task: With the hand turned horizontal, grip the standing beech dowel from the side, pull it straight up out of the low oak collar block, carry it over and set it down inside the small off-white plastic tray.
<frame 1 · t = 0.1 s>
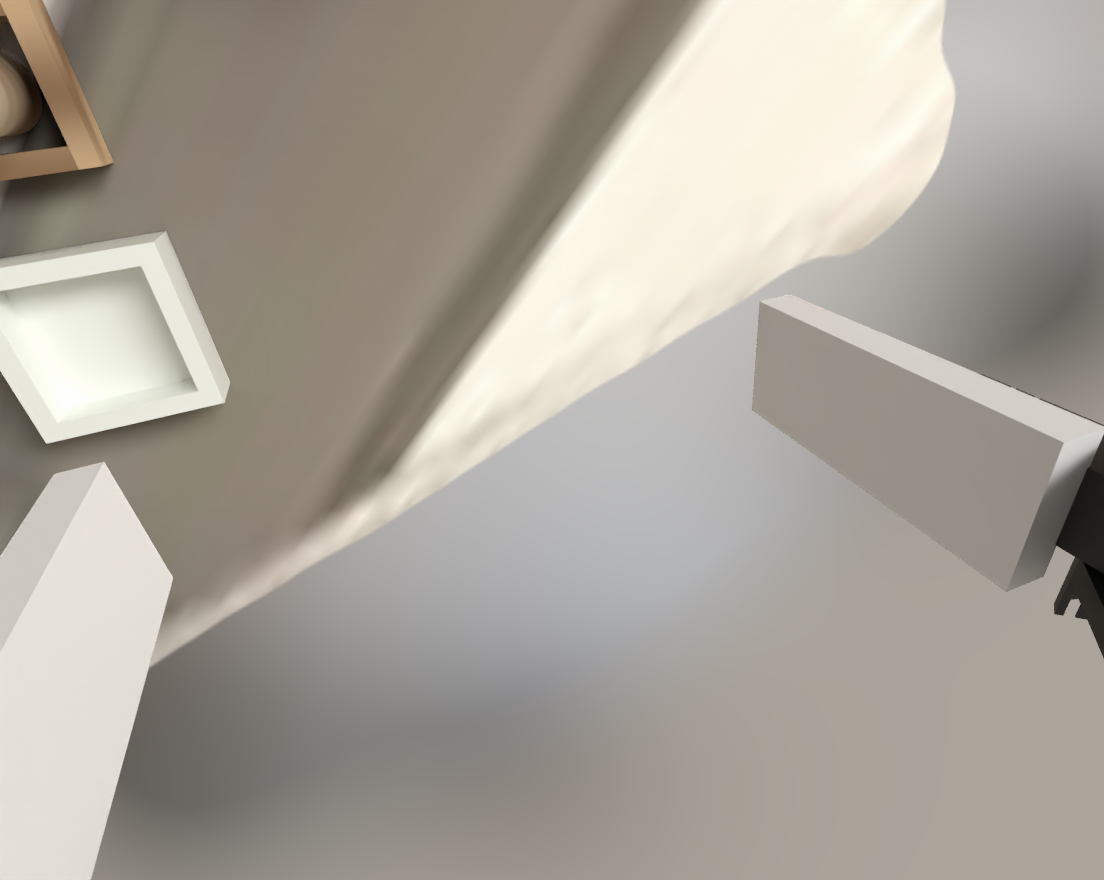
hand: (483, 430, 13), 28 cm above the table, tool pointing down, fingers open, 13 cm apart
tray: (113, 328, 34), on the table
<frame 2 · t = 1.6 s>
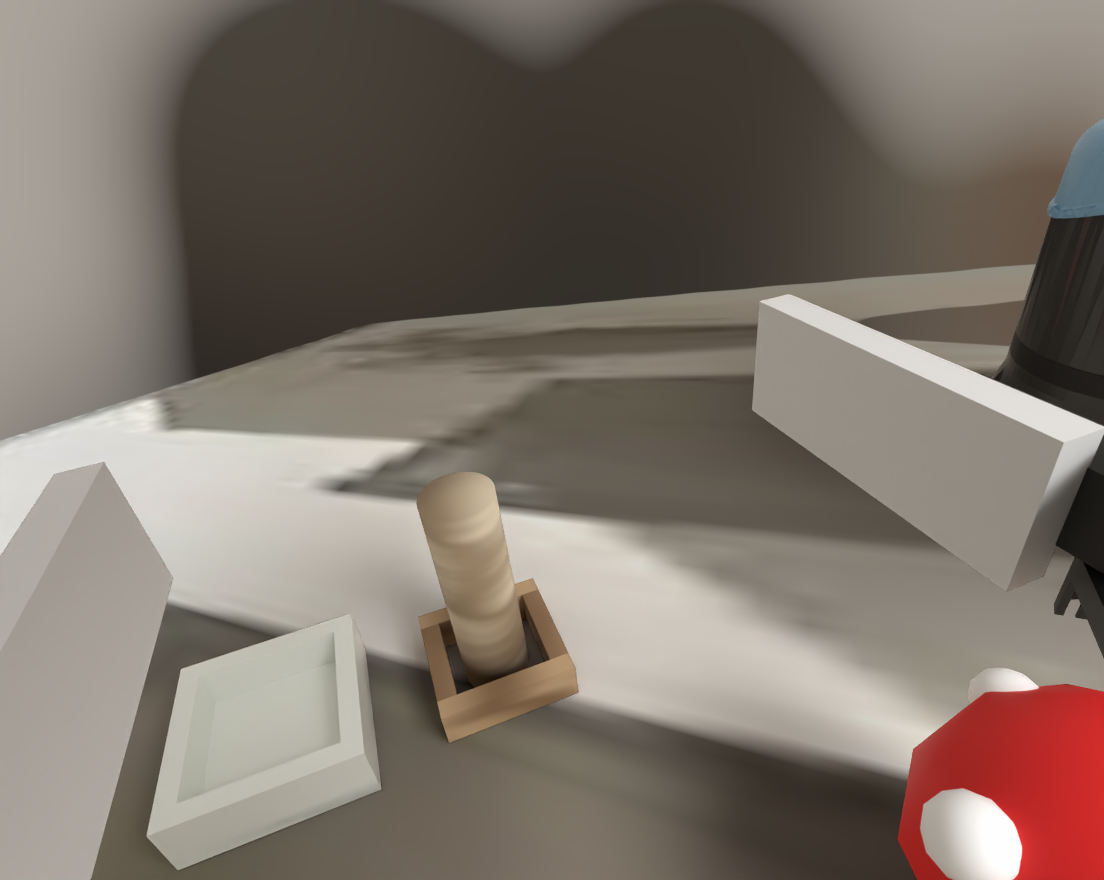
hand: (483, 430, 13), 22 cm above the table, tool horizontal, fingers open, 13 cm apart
tray: (285, 742, 32), on the table
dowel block: (497, 664, 34), on the table
dowel: (479, 588, 31), in the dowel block
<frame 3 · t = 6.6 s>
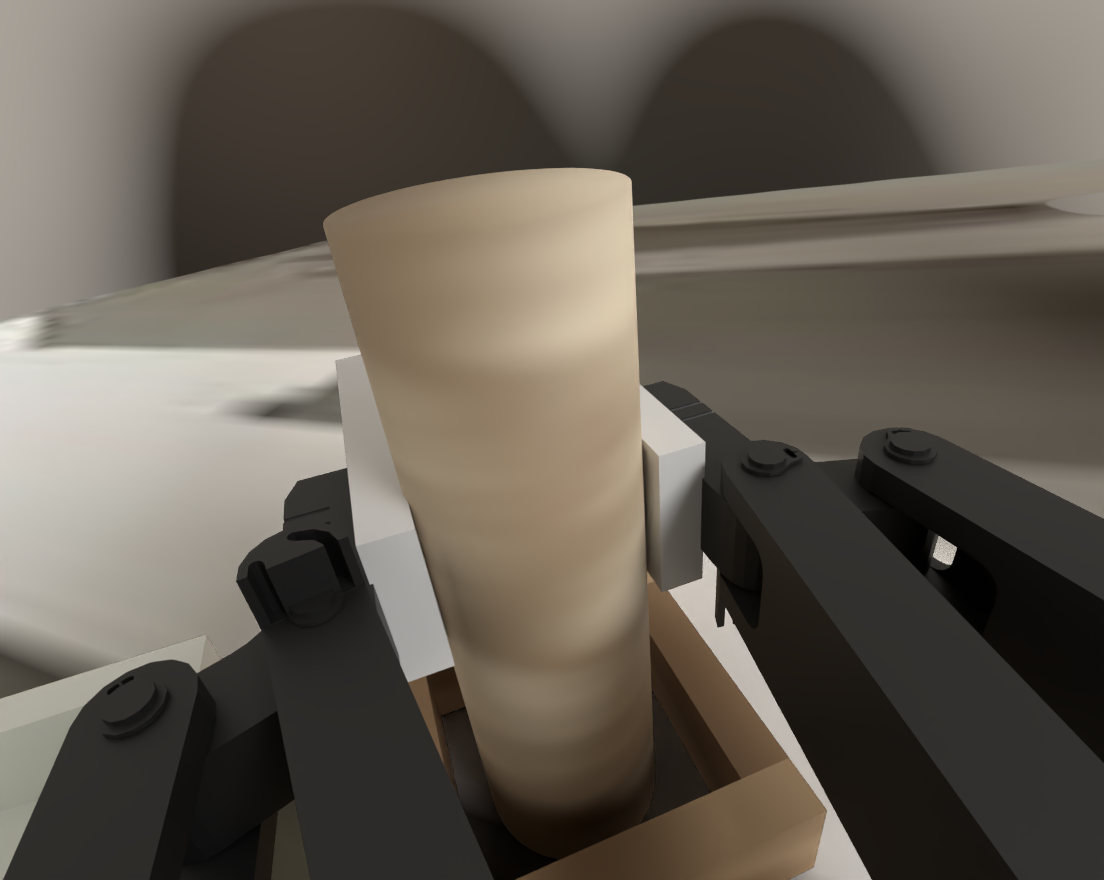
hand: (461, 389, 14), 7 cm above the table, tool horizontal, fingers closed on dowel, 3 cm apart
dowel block: (572, 769, 14), on the table
dowel: (539, 569, 10), in the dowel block, touching gripper
when the fingers open (9 cm above the table, at t = 11.0 s): dowel drops 1 cm, resting on tray.
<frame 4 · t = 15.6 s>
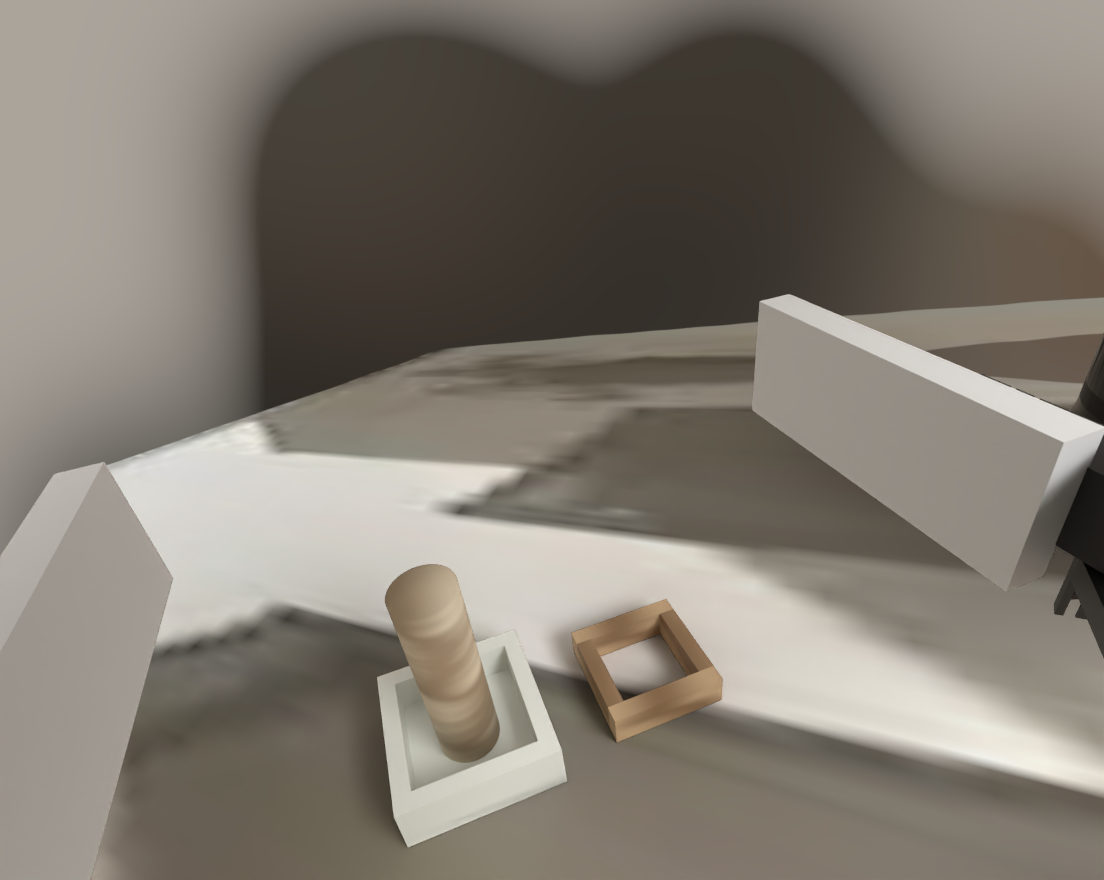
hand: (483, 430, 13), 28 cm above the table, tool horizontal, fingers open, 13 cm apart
tray: (471, 741, 37), on the table
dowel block: (643, 675, 40), on the table
dowel: (448, 668, 34), in the tray, point 7 cm above the table
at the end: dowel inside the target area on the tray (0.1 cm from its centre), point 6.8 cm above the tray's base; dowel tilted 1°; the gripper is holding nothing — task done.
